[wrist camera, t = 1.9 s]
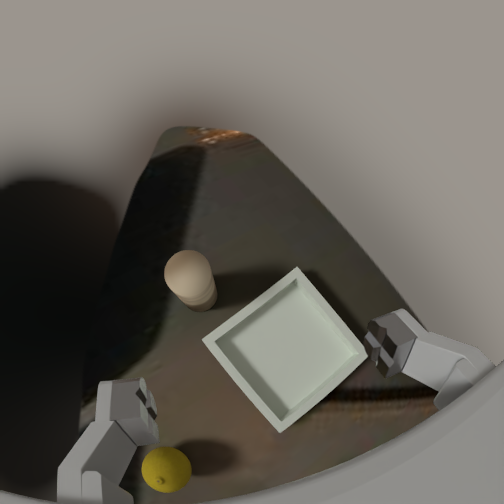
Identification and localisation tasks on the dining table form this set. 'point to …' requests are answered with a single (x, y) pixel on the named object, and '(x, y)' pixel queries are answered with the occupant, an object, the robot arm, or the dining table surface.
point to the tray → (286, 349)
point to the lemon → (166, 469)
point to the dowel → (191, 280)
